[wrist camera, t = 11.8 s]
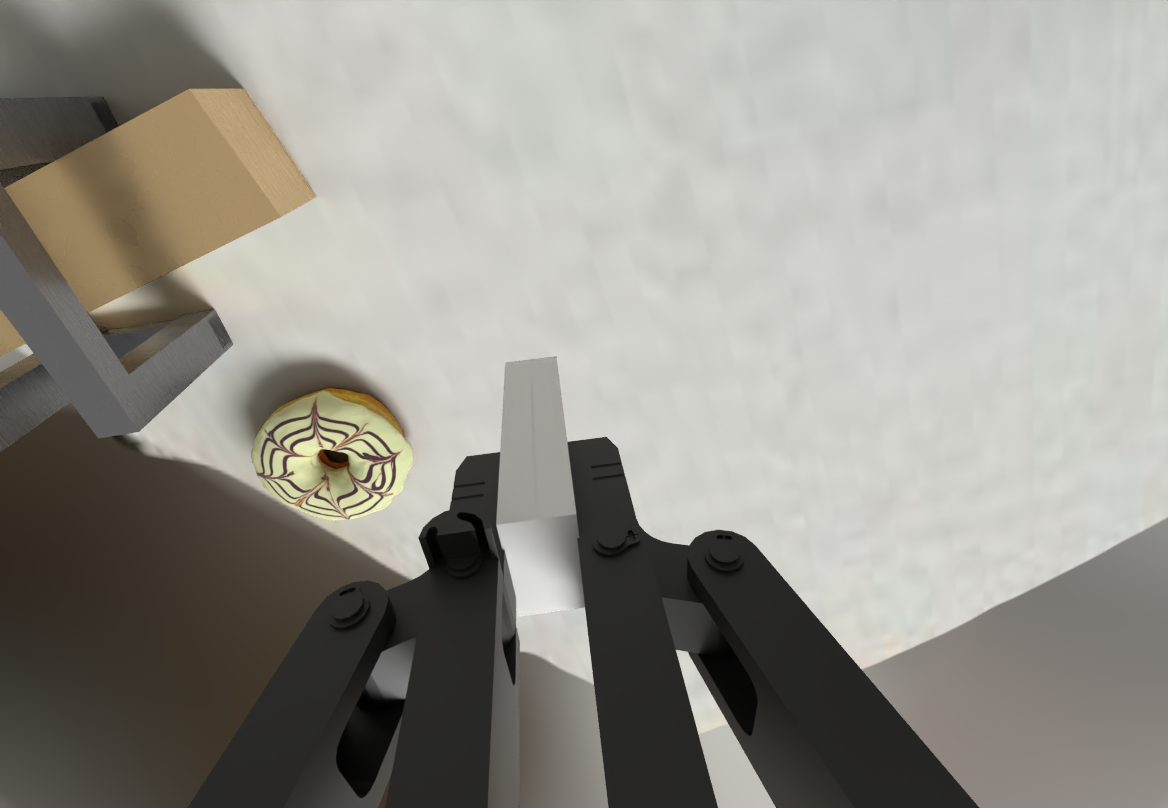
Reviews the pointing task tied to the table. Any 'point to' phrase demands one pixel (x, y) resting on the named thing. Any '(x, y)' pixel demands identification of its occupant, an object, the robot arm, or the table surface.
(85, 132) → the grey cradle stand
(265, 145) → the tan wooden brick
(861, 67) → the table surface
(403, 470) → the decorated donut
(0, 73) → the table surface
